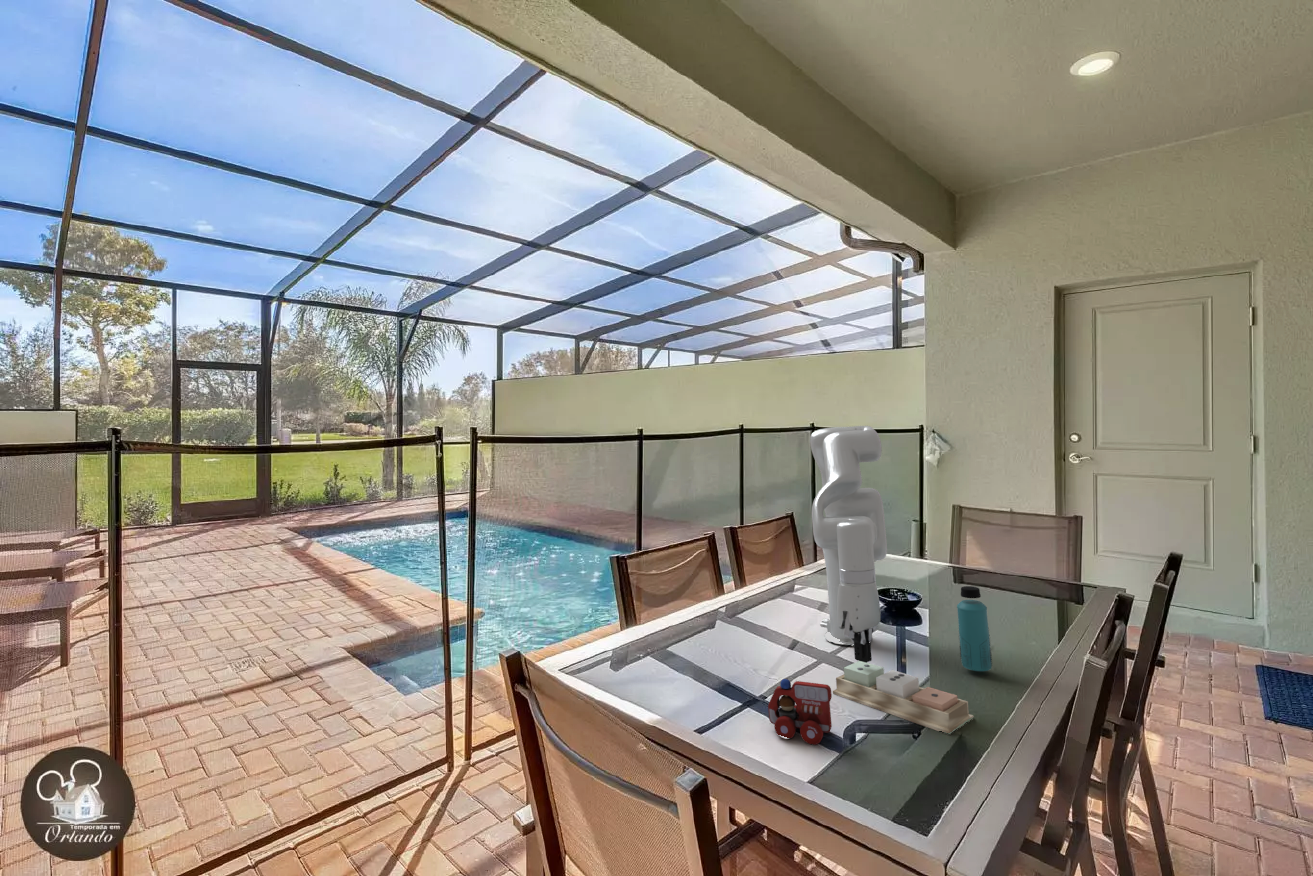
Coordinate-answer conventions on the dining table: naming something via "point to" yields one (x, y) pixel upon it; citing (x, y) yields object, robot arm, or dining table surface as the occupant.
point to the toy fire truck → (801, 710)
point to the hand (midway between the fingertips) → (863, 660)
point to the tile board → (904, 706)
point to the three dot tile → (897, 684)
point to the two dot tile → (863, 673)
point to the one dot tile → (935, 699)
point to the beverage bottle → (974, 631)
